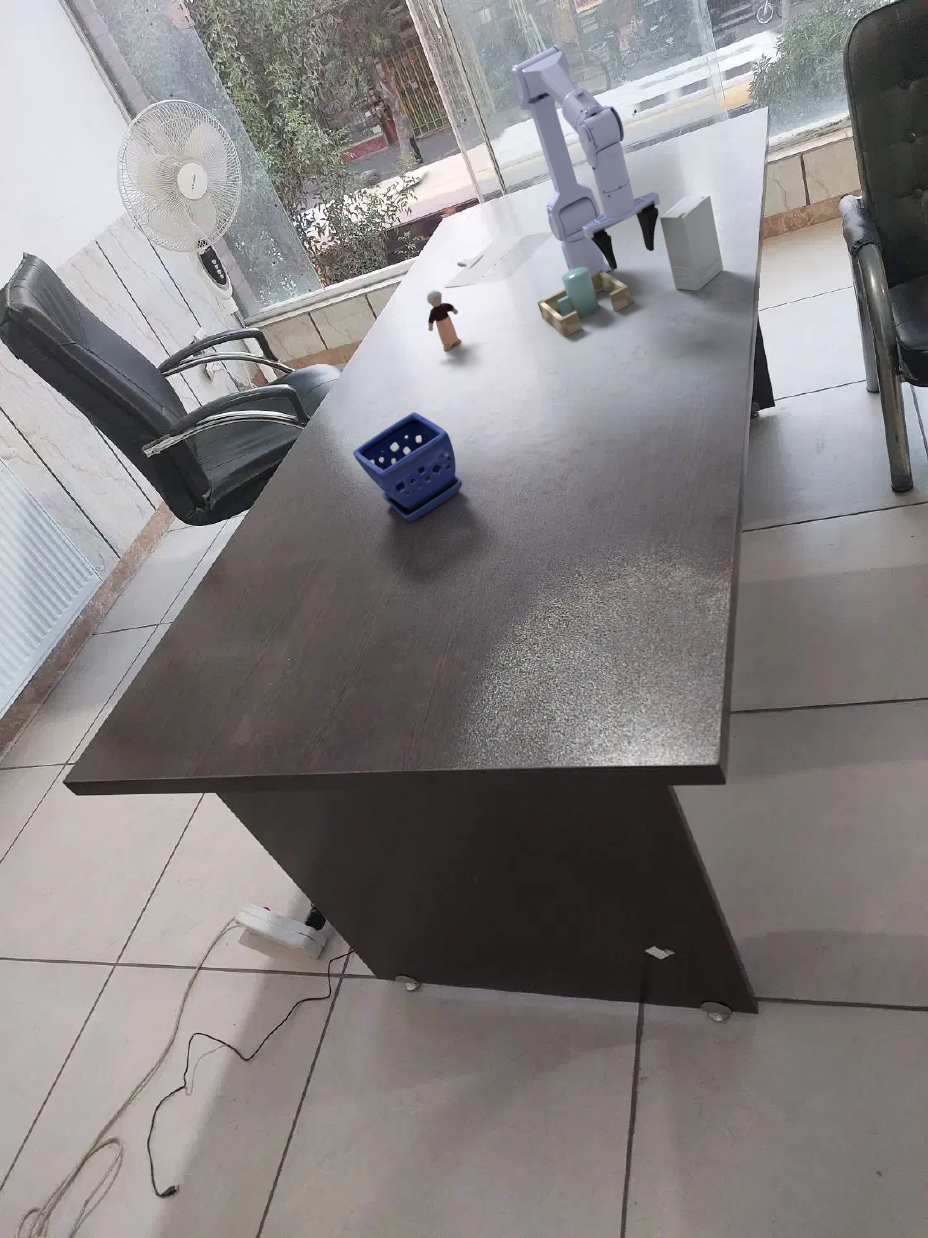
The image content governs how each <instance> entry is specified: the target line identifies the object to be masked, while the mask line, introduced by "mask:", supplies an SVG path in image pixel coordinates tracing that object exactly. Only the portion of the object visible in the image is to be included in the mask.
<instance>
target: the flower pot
mask: <svg viewBox="0 0 928 1238" xmlns="http://www.w3.org/2000/svg"><path fill="white" fill-rule="evenodd" d="M406 436H407V437H406ZM418 436H420V438H421V439H420V441H417V437H418ZM394 443H396V445H397V446H398V448H397V449H395V450H392V445H394ZM406 448H408V449H409V452H408V453H407V454H406V453H405V452H404V450H405V449H406ZM352 454H353V456H354V459H355V460H356V461H357V462H358V464H359V465H360V467H361V468H362V469H363V471H365V473H366V474H367V475H368V477H370V479H371V480H372V481H373V482H374V483H375V484H376V485H377V486H378V487H379V488H380V489H381V490H382V491H383V493H382V494H381V497H382V498H383V499H384V500H385V501H386V502H387V503H388V504H389V505H390V506H391V507H392V508H393V509H395V511H396V512H397V513H399V514H400V515H401V517H403V518H404V519H405V520H406V521H408V522H409V521H410V522H414V521H416V520H418V519H419V517H420V516H421V517H423V516H424V515H426V514H427V513H429V512H431V511H432V510H434V509H435V508H436V507H438V506H440V505H441V504H442V503H444V502H446V501H447V500H448V499H450V498H451V497H453V496H454V495H456V494H457V493H458V492H459V491H460V489H461V488H462V485H463V481H462V479H460V478H459V477H458V476H457V475H456V467H457V466H456V457H455V451H454V447H453V444H452V441H451V438H450V435H449V434H448V432H447V431H446V430H445V429H443V428H442V427H441V426H439V425H438V424H436V423H434V422H433V421H431V420H430V419H428V418H426V417H424V416H423V415H421V414H419V413H417V412H411V413H409V414H408V415H407V416H404V417H403V418H402V419H400V420H398V421H397V422H395V423H392V425H390V426H389V427H387V428H385V429H383V430H382V431H380V433H378V434H377V435H375V436H374V437H372V438H371V439H368V440H367V441H366V442H365V443H363V444H362V445H361V446H359V447H357V448H356V449H355V450H353V452H352ZM381 458H383V460H382V461H380V459H381ZM393 459H395V460H394V461H395V462H393V461H392V460H393ZM372 461H373V462H372ZM392 462H393V463H392ZM422 515H423V516H422ZM421 517H420V518H421ZM417 518H418V519H417ZM413 520H414V521H413Z"/></svg>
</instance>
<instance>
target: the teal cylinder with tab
mask: <svg viewBox="0 0 928 1238" xmlns="http://www.w3.org/2000/svg"><path fill="white" fill-rule="evenodd" d="M568 271H569V270H568ZM566 272H567V271H566ZM561 280H562V283H563V286H564V289H565V290H566V293H567V296H565V297H563V298H561V299H559V300H557V301H558V305H559V308H560V311H559V312H560V315H561V316H562V317H564V316H566V315H568V314H570V313H572V312H574V311H576V312H577V313H578V317H579V319H581V318H586V317H589V316H591V315H593V314H595V313H596V312H597V311H598V310H599V309H600V305H599V304H600V303H599V302H598V297H597V293H595V290H594V286H593V283H592V279H591V276H590V272H589V269H588V268H587V267H579V268H575V269H573V270H571V271H569V272H567V273H566V274H565V273H564V274H563V276H562V277H561Z"/></svg>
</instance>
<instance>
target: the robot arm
mask: <svg viewBox="0 0 928 1238" xmlns="http://www.w3.org/2000/svg"><path fill="white" fill-rule="evenodd" d="M510 75H511V78H510V79H511V84H512V86H513V91H514V93H515V97H516V100H517V103H518V105H519V107H520V109H521V110H522V111H524V110H527V111H529V112H530V114H531V117H532V120H533V122H534V123H533V124H534V127H535V129H536V132H537V133H536V134H537V136H538V140H539V143H540V145H541V146H540V147H541V149H542V152H543V156H544V159H545V162H546V166H547V169H548V172H549V176H550V179H551V181H552V182H551V183H552V185H553V189H554V191H553V193H552V196H551V197H550V198H549V200H548V202H547V203H546V206H545V207H546V212H547V217H548V218H547V219H548V224H549V227H550V230H551V232H552V234H553V236H554V237H555V239H556V240H558V241H560V242H561V243H560V244H561V245H560V246H561V248H562V249H561V250H562V253H563V256H564V259H565V263H566V267H567V269H568V270H567V271H565V273H564V274H566V273H567V272H569V271H571V270H573V269H575V268H579V267H587V268H588V269H589V272H590V276H591V275H593V274H595V273H597V272H599V271H601V270H602V271H604V272H606V273H607V272H609V271H611V270H613V271H614V270H617V269H618V263H617V260H616V257H615V254H614V249H613V243H612V236H611V235H610V234H608V231H606V230H608V229H609V228H612V227H613V226H616V225H618V224H620V223H621V222H624V221H626V220H628V219H631V218H632V217H634V216H636V218H637V220H638V224H639V226H640V230H641V233H642V238H643V241H644V245H645V248H646V250H647V251H650V252H653V251H655V230H656V225H657V221H658V217H659V210H658V209H659V208H658V207H656V206H658V205H660V204H661V200H660V195H659V193H658V192H656V191H651V192H649V193H647V194H644V195H641V196H639V197H637V198H636V197H635V198H634V193H633V189H632V185H631V180H630V177H629V172H628V168H627V164H626V159H625V156H624V151H623V146H622V143H621V142H623V140H624V138H625V132H624V125H623V122H622V119H621V116H620V114H619V113H618V111H617V109H616V108H615V106H613V105H609V106H608V105H605V106H602V105H601V104H600V103H599V101H598V100H597V99H596V98H595V97H594V96H593V95H592V94H591V93H590V92H589V90H588V89H586V88H582V87H580V88H578V87H577V86H576V84H575V83H574V81H573V80H572V78H571V77H570V65H569V61H568V58H567V55H566V53H565V50H563V48H562V47H561V46H559V45H558V44H554V45H553V46H551V47H550V48H548V49H546V50H544V51H542V52H541V53H537V54H536V55H535V56H533V57H530V58H528V59H526V60H524V61H522V62H521V63H519V64H514V65H513V66H512V69H511V73H510ZM556 102H557V103H558V104H559V105H560V106H561V107H562V108H561V113H562V116H563V118H564V120H565V121H566V122H567V124H568V125H570V126H571V128H572V129H573V130H574V131H575V132H576V134H577V135H578V140H579V143H580V145H581V148H582V150H583V152H584V154H585V156H586V162H587V163H588V166H590V167H591V169H592V174H593V177H594V180H595V185H596V187H597V192H598V196H599V199H600V204H601V208H602V210H603V213H602V214H601V209H600V206H599V204H598V201H597V200H596V198H595V195H594V192H593V190H592V189H591V187H590V186H588V185H586V184H583V183H579V182H578V180H577V177H576V174H575V170H574V167H573V164H572V160H571V159H572V158H571V157H570V153H569V150H568V146H567V143H566V139H565V135H564V131H563V129H562V124H561V121H560V118H559V115H558V111H557V108H556V105H555V103H556Z"/></svg>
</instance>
